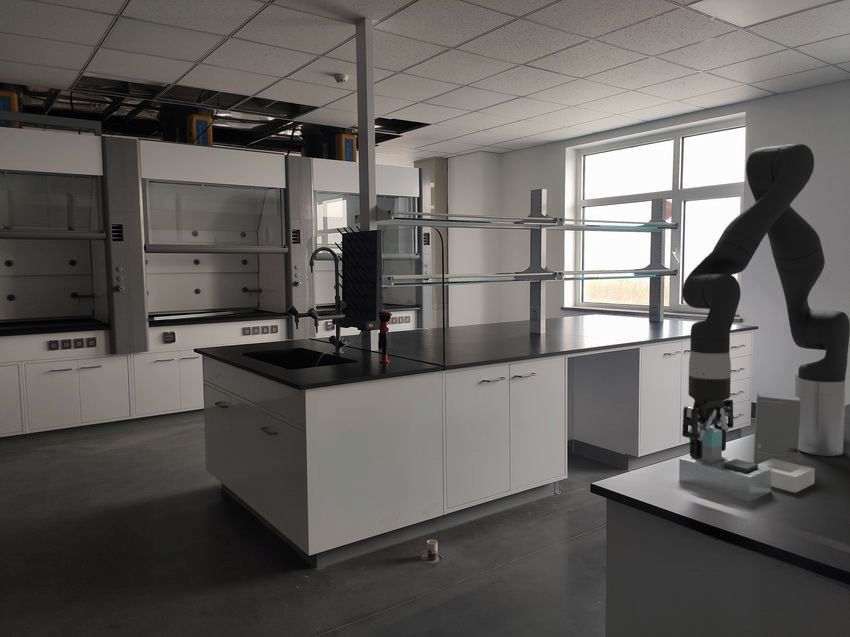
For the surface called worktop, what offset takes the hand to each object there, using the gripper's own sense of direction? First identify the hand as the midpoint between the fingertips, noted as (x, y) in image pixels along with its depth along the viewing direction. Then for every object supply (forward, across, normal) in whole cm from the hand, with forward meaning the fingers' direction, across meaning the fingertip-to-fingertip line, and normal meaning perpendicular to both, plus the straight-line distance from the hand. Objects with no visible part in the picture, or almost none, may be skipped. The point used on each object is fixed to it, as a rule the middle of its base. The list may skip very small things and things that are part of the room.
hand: (708, 453), depth 119 cm
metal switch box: (+7, 0, -3) cm, 7 cm away
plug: (+6, 0, 0) cm, 6 cm away
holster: (+7, +11, -9) cm, 16 cm away
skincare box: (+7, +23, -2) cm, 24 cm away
